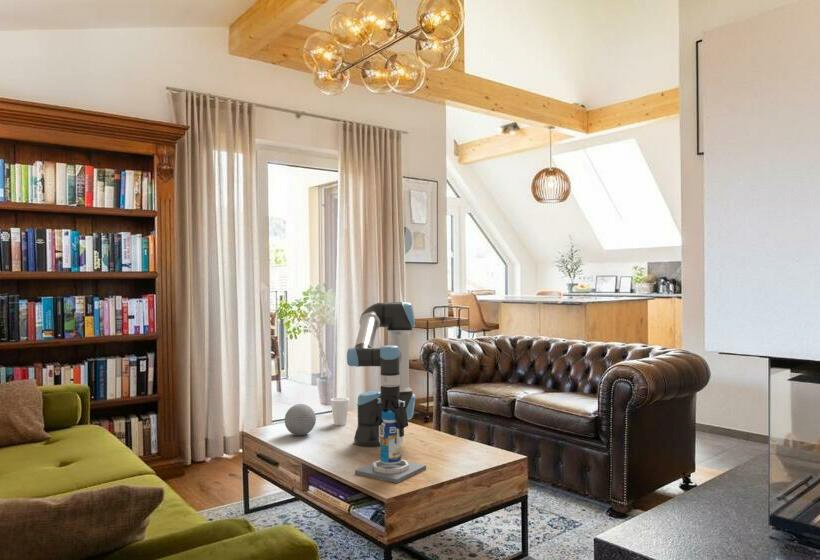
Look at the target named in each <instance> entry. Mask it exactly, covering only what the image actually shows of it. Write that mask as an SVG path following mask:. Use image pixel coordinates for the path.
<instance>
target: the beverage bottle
mask: <svg viewBox="0 0 820 560" xmlns="http://www.w3.org/2000/svg"><path fill="white" fill-rule="evenodd" d="M382 420H383V422H382V424H381V426H380V430H381V432H380V445H379V447H380V450H379V451H380V454H379V455H380V456H379V457H380V459H379V460H380V461H381V462H382V463H384V464H397V463H399V462H400V461H401V460H402V444H401V445H399V446H397V428H399V427H398V425H397V422H396V419H395V412H392V410H390V409H388V410H387V411H382Z"/></svg>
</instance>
